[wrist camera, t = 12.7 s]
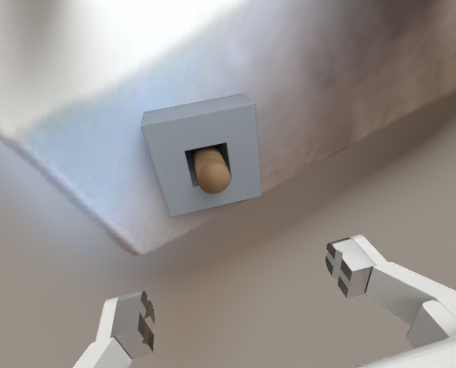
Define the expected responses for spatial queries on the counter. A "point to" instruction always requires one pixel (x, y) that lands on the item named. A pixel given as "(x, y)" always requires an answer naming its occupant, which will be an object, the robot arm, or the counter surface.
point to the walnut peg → (211, 169)
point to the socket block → (201, 137)
